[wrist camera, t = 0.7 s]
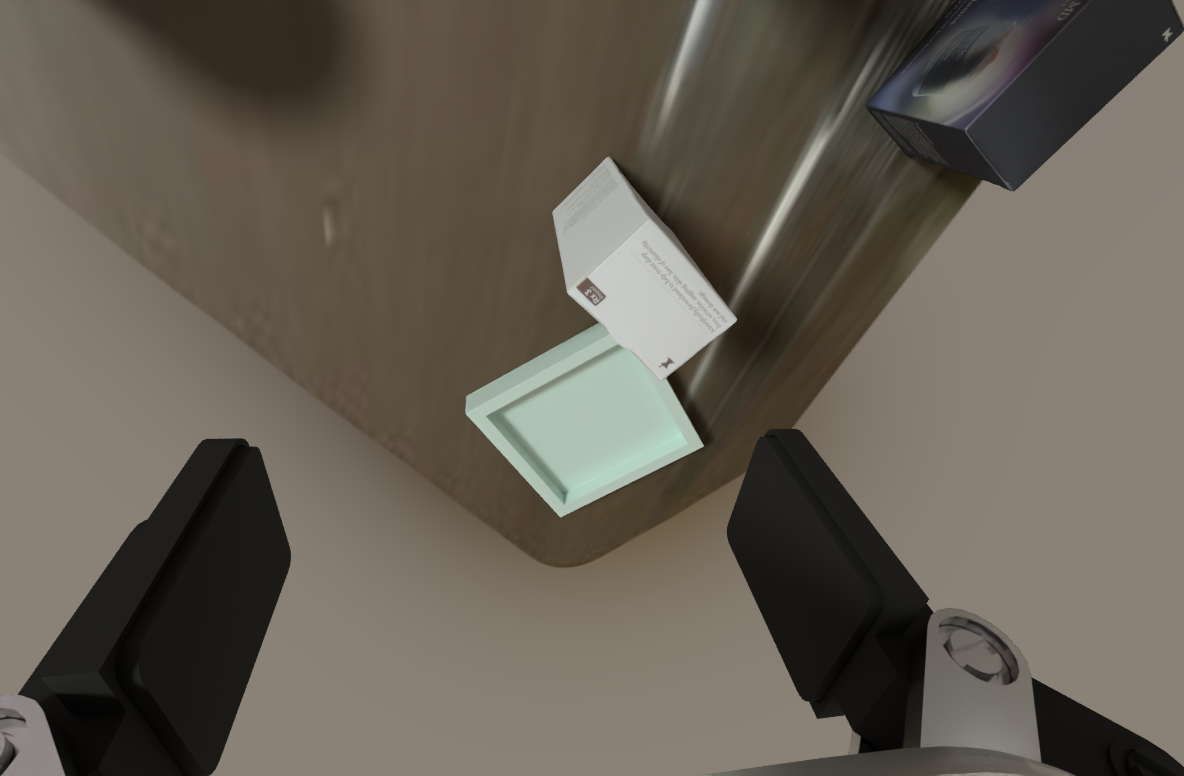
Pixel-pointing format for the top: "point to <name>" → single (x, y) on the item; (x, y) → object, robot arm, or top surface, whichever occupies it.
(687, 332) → the skincare box
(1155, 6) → the small box
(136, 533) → the robot arm
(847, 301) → the top surface
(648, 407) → the tray
